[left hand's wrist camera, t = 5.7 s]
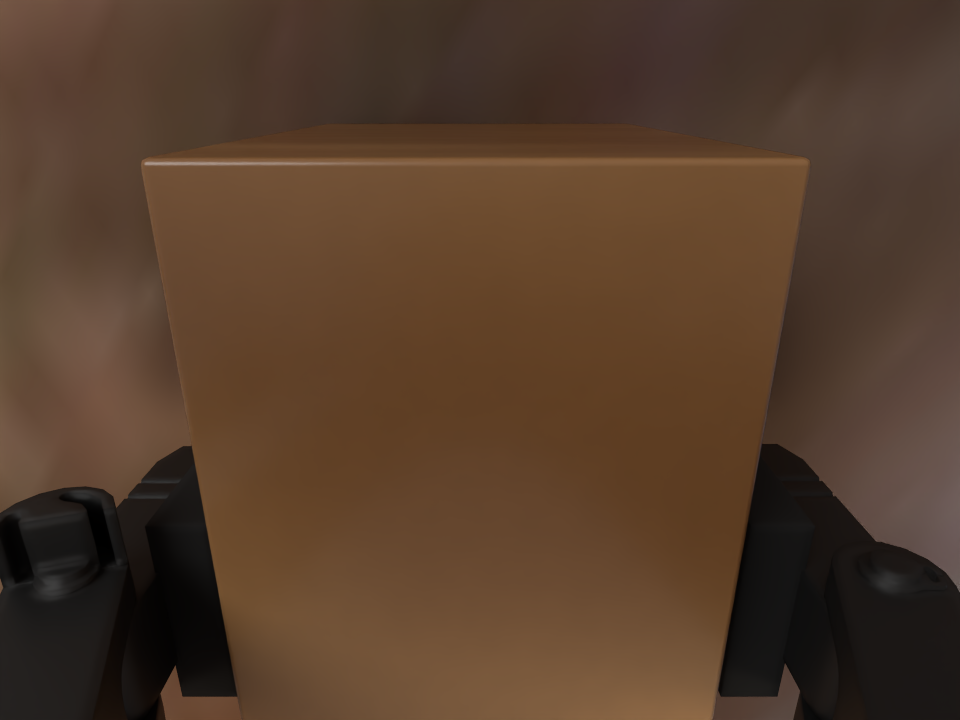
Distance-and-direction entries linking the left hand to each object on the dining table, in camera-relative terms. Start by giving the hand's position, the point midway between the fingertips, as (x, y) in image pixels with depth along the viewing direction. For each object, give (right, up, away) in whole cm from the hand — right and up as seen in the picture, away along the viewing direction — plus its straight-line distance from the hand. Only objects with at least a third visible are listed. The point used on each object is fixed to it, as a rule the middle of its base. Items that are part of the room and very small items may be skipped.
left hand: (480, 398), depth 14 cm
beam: (0, -29, +12) cm, 32 cm away
